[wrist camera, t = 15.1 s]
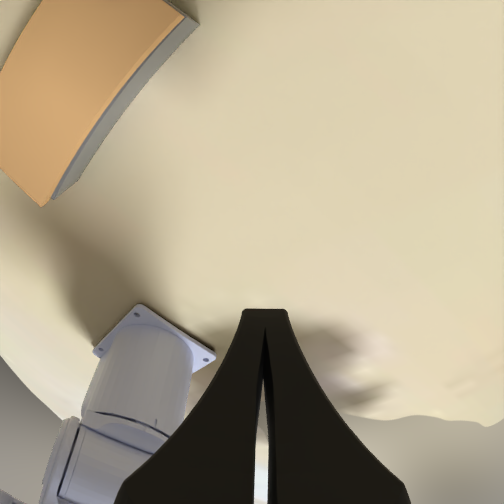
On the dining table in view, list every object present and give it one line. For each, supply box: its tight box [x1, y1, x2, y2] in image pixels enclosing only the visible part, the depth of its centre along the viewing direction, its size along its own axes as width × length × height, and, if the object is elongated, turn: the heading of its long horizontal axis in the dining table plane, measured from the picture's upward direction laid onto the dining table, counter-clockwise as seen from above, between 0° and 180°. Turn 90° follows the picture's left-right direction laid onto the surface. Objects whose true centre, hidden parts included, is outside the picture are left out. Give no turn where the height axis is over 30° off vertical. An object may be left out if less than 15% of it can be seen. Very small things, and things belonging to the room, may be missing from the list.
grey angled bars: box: [51, 0, 200, 200], centre depth 13 cm, size 12×7×3 cm, turn 135°
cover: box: [0, 0, 184, 207], centre depth 11 cm, size 12×7×1 cm, turn 134°
